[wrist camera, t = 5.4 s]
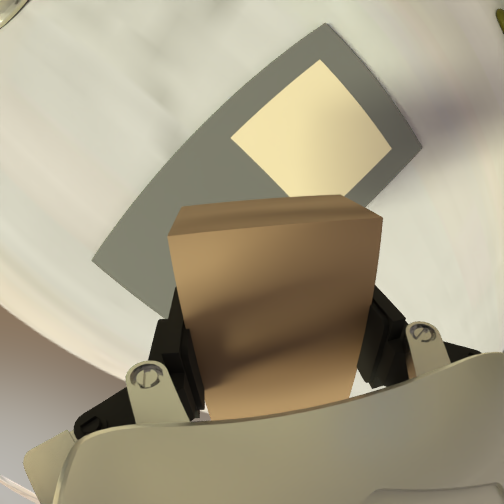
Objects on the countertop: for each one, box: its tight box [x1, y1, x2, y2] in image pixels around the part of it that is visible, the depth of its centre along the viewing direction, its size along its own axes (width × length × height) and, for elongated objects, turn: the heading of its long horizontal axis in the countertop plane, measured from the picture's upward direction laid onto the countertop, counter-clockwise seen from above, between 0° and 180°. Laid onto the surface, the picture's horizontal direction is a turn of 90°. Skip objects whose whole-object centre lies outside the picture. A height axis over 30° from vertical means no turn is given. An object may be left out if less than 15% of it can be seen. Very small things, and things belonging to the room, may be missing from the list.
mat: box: [91, 23, 422, 319], centre depth 25 cm, size 16×32×1 cm, turn 135°
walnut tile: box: [167, 194, 383, 421], centre depth 11 cm, size 9×6×3 cm, turn 3°
